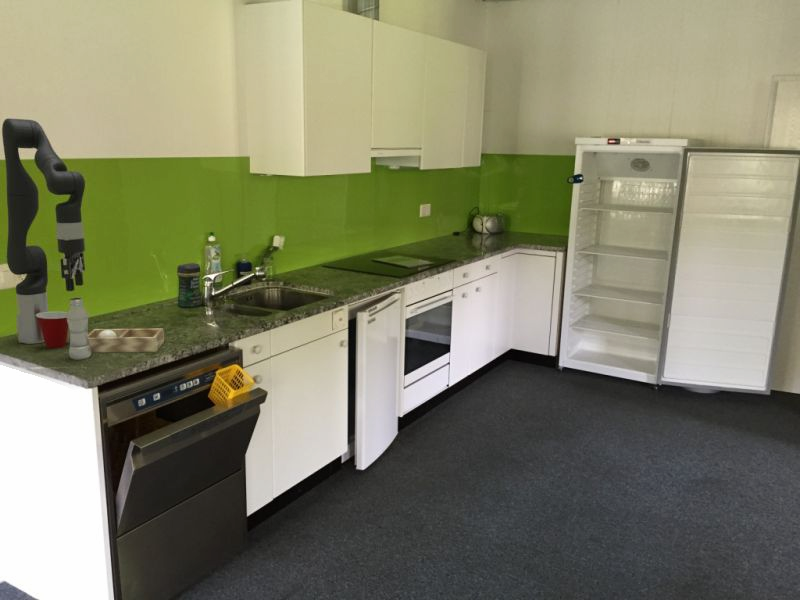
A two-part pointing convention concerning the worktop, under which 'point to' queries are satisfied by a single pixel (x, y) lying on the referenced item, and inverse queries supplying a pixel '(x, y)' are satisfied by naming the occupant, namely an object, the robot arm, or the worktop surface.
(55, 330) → the plastic cup
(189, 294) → the coffee jar
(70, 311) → the plastic bottle
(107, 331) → the white ball
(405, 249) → the worktop surface
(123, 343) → the crate
